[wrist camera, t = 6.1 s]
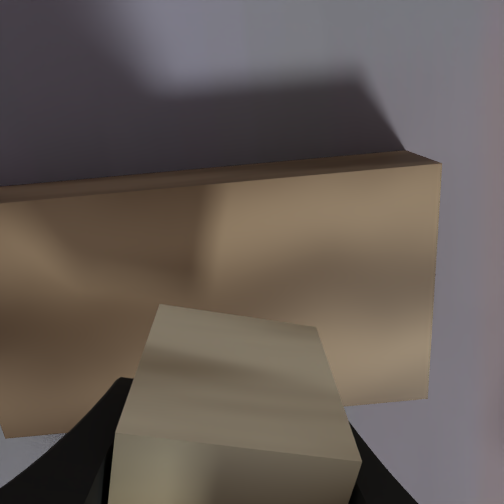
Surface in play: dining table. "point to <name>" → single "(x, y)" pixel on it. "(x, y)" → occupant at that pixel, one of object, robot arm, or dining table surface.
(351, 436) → the birch cube
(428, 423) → the dining table surface
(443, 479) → the dining table surface
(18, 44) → the dining table surface
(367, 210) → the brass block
